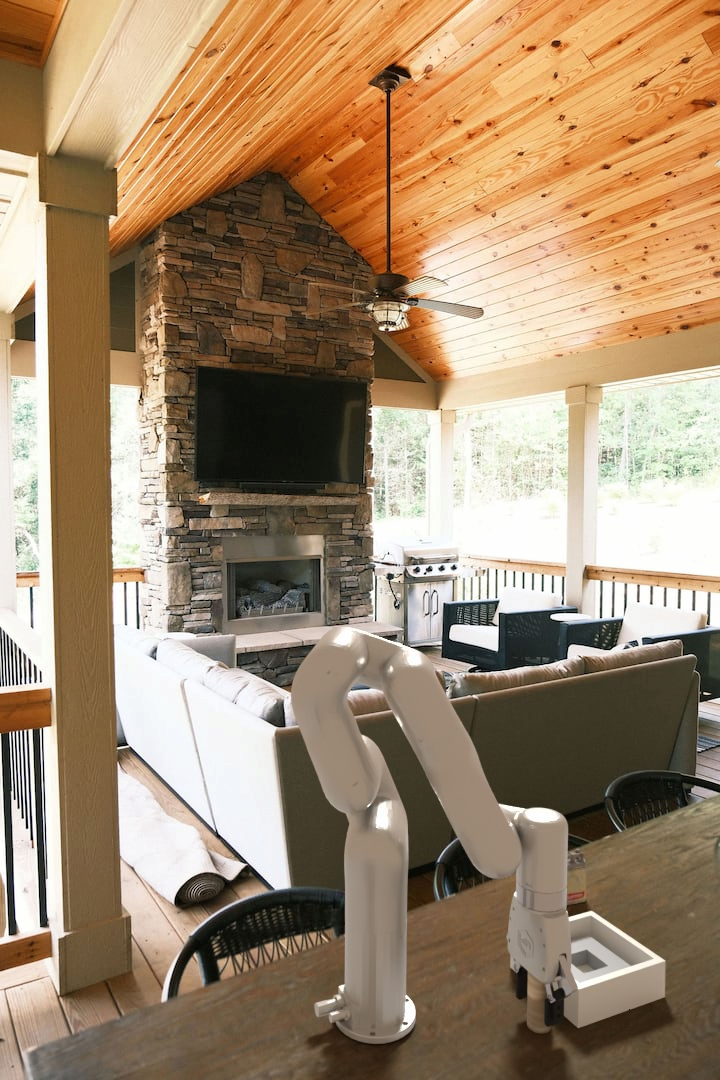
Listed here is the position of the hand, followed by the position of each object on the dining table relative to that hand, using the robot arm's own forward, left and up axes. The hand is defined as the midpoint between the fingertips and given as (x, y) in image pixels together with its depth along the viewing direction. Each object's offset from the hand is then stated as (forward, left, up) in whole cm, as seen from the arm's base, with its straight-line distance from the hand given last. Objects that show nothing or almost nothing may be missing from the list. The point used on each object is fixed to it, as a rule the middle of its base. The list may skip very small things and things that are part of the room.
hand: (539, 1008), depth 115 cm
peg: (0, 0, -3) cm, 3 cm away
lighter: (+30, +28, -3) cm, 41 cm away
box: (+14, +6, -3) cm, 15 cm away
